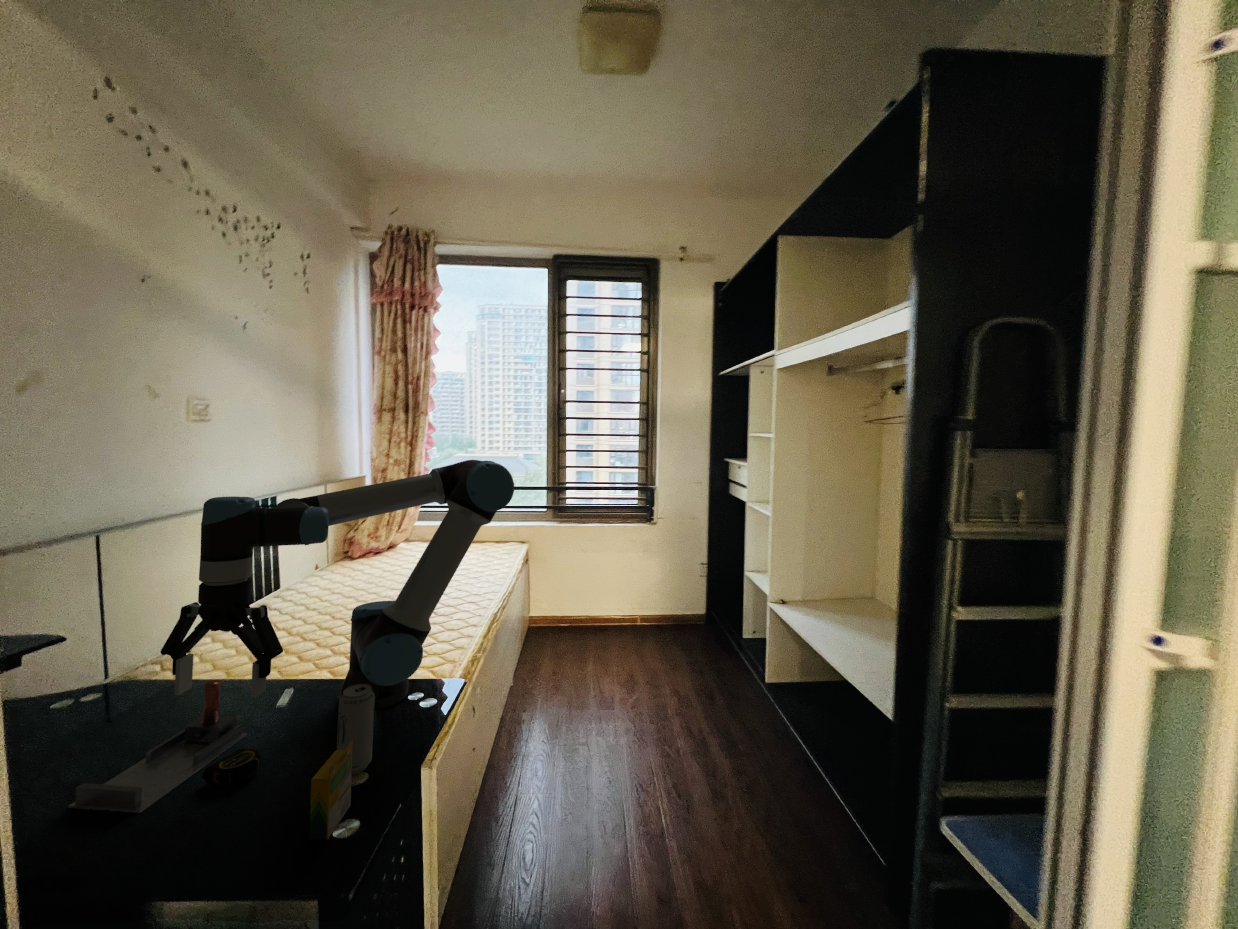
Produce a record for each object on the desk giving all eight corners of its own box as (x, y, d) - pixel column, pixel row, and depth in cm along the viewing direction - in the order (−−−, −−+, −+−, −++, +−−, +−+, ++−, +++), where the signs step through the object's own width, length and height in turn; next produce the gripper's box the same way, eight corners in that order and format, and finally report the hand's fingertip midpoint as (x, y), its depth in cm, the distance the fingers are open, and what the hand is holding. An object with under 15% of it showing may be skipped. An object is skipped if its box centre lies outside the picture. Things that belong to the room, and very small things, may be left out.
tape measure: (242, 762, 88) (243, 743, 88) (268, 770, 86) (269, 751, 86) (201, 786, 81) (202, 765, 81) (229, 796, 80) (230, 774, 80)
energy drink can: (330, 767, 88) (333, 690, 87) (363, 752, 92) (366, 679, 92) (343, 782, 84) (347, 702, 84) (377, 766, 89) (381, 689, 88)
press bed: (247, 735, 96) (247, 719, 96) (139, 813, 75) (140, 792, 75) (191, 731, 96) (191, 715, 96) (68, 808, 75) (69, 787, 75)
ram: (235, 731, 96) (237, 679, 96) (213, 746, 91) (215, 692, 90) (202, 729, 96) (205, 677, 96) (178, 744, 91) (180, 689, 91)
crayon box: (333, 805, 79) (336, 738, 78) (351, 805, 79) (354, 738, 79) (307, 841, 71) (310, 767, 71) (327, 840, 72) (330, 767, 71)
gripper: (307, 577, 89) (302, 685, 90) (175, 571, 88) (170, 680, 89) (280, 588, 82) (275, 706, 82) (136, 582, 81) (131, 701, 81)
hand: (221, 693), depth 85 cm, fingers open, 13 cm apart
